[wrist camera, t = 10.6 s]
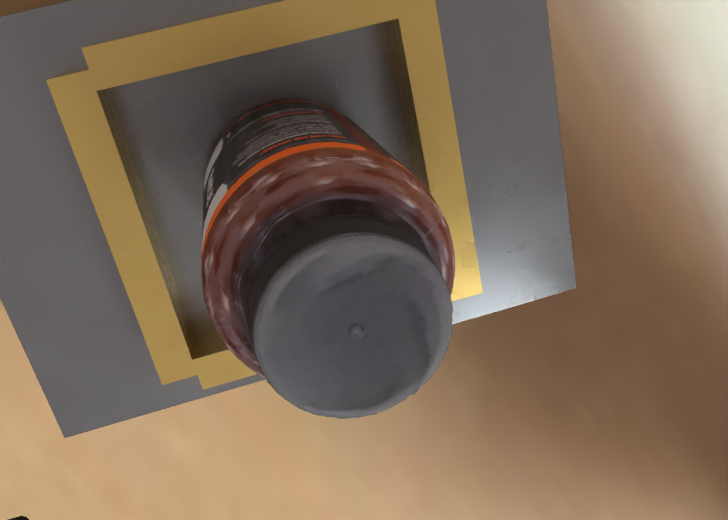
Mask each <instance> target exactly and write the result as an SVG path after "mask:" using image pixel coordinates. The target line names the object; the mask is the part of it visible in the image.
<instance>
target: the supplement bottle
mask: <svg viewBox="0 0 728 520" xmlns="http://www.w3.org/2000/svg"><path fill="white" fill-rule="evenodd" d="M201 247H202V249H201V276H202V288H203V295H204V301H205V304H206V308H207V311H208V314H209V317H210V319H211V321H212V323H213V326H214V328H215V330H216V331H217V333H218V336H219V337H220V338H221V340H222V341H223V343H224V345H225V347H226V348H227V349H228V350H229V351H231V352H232V353H233V354H234V355H235V356H236V357H237V358H238V359H239V360H240V361H241V362H243V363H244V364H245V365H246V366H247V367H248V368H250V369H251V370H252V371H254V372H255V373H257V374H258V375H260V376H262V377H264V378H265V379H267V381H268V383H269V384H270V385H271V386H272V387H273V388H274V390H275V391H276V392H277V393H278V394H279V395H281V396H282V397H283V398H284V399H286V400H287V401H289V402H290V403H292V404H293V405H295V406H296V407H298V408H299V409H302V410H304V411H307V412H310V413H312V414H316V415H321V416H326V417H336V418H341V419H343V418H357V417H363V416H367V415H373V414H377V413H379V412H382V411H384V410H386V409H388V408H391V407H393V406H394V405H396V404H398V403H400V402H401V401H403V400H405V399H406V398H407V397H409V396H410V395H412V394H415V393H416V392H417V391H418V390H419V388H420V387H421V386H422V385H423V384H424V383H425V382H426V381H428V380H429V378H430V377H431V376H432V375H433V373H434V372H435V371H436V369H437V368H438V366H439V364H440V362H441V360H442V359H443V357H444V355H445V353H446V350H447V348H448V344H449V340H450V337H451V333H452V321H453V306H452V300H451V294H452V289H453V282H454V277H455V256H454V255H455V253H454V247H453V241H452V237H451V234H450V230H449V226H448V224H447V221H446V219H445V217H444V215H443V213H442V211H441V210H440V208H439V206H438V204H437V203H436V201H435V199H434V198H433V196H432V195H431V194H430V192H429V191H428V189H427V188H426V187H425V186H424V185H423V183H421V182H420V181H419V180H418V179H417V178H416V177H415V176H414V175H413V174H412V173H411V172H410V171H409V170H408V169H406V168H405V167H404V166H403V165H402V164H401V163H400V162H399V161H397V160H396V159H395V158H394V157H393V156H392V155H391V154H390V153H389V152H387V151H386V150H385V149H384V148H383V147H382V146H381V145H380V144H378V143H377V141H376V140H374V139H373V138H372V137H371V136H370V135H368V134H367V133H366V132H365V131H364V130H363V129H361V128H360V127H359V126H358V125H357V124H356V123H354V122H353V121H352V120H350V119H349V118H347V117H345V116H344V115H342V114H340V113H339V112H337V111H335V110H333V109H331V108H329V107H326V106H324V105H321V104H317V103H315V102H310V101H303V100H294V101H293V100H290V101H280V102H275V103H271V104H267V105H264V106H262V107H259V108H257V109H255V110H253V111H250V112H249V113H247V114H245V115H244V116H242V117H241V118H240V119H238V120H237V121H236V122H235V123H234V124H233V125H232V126H230V127H229V129H228V130H227V131H226V132H225V134H224V135H223V136H222V137H221V139H220V141H219V142H218V143H217V145H216V147H215V149H214V151H213V153H212V155H211V158H210V161H209V164H208V167H207V171H206V175H205V181H204V189H203V226H202V246H201Z"/></svg>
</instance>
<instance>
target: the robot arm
mask: <svg viewBox="0 0 728 520" xmlns="http://www.w3.org/2000/svg"><path fill="white" fill-rule="evenodd" d="M9 520H29V519H28V518H27V517H24V516H19V517H16V518H12V519H9Z"/></svg>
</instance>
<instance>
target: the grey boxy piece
mask: <svg viewBox="0 0 728 520" xmlns="http://www.w3.org/2000/svg"><path fill="white" fill-rule="evenodd" d="M290 100H293V101H294V100H303V101H310V102H315V103H317V104H321V105H324V106H326V107H329V108H331V109H333V110H335V111H337V112H339V113H340V114H342V115H344V116H345V117H347V118H349V119H350V120H352V121H353V122H354V123H356V124H357V125H358V126H359V127H360V128H361V129H363V130H364V131H365V132H366V133H367V134H368V135H370V136H371V137H372V138H373V139H374V140H376V141H377V143H378V144H380V145H381V146H382V147H383V148H384V149H385V150H386V151H387V152H389V153H390V154H391V155H392V156H393V157H394V158H395V159H396V160H397V161H399V162H400V163H401V164H402V165H403V166H404V167H405V168H406V169H408V170H409V171H410V172H411V173H412V174H413V175H414V176H415V177H416V178H417V179H418V180H419V181H420V182H421V183H423V185H424V186H425V187H426V188H427V189H428V191H429V192H430V194H431V195H432V196H433V198H434V199H435V201H436V203H437V204H438V206H439V208H440V210H441V211H442V213H443V215H444V217H445V219H446V221H447V224H448V226H449V230H450V234H451V237H452V241H453V247H454V253H455V255H454V256H455V277H454V282H453V289H452V294H451V300H452V306H453V321H452V324H456V323H459V322H463V321H466V320H470V319H473V318H476V317H480V316H483V315H487V314H490V313H493V312H497V311H500V310H504V309H507V308H511V307H514V306H517V305H521V304H524V303H528V302H531V301H534V300H538V299H541V298H545V297H548V296H551V295H555V294H558V293H562V292H565V291H569V290H572V289H575V288H576V279H575V269H574V260H573V250H572V241H571V231H570V222H569V212H568V203H567V193H566V184H565V174H564V165H563V156H562V146H561V137H560V127H559V118H558V108H557V99H556V89H555V80H554V70H553V61H552V51H551V42H550V32H549V23H548V13H547V4H546V0H72V1H67V2H63V3H58V4H54V5H50V6H45V7H41V8H36V9H32V10H27V11H23V12H19V13H14V14H10V15H5V16H1V17H0V298H1V300H2V303H3V305H4V307H5V309H6V311H7V314H8V316H9V318H10V320H11V322H12V324H13V327H14V329H15V331H16V333H17V335H18V337H19V340H20V342H21V344H22V346H23V348H24V350H25V353H26V355H27V357H28V359H29V361H30V364H31V366H32V368H33V370H34V372H35V374H36V377H37V379H38V381H39V383H40V385H41V387H42V390H43V392H44V394H45V396H46V398H47V400H48V403H49V405H50V407H51V409H52V411H53V414H54V416H55V418H56V420H57V422H58V424H59V427H60V429H61V431H62V433H63V435H64V437H65V438H67V437H70V436H73V435H77V434H80V433H84V432H87V431H90V430H94V429H97V428H101V427H104V426H108V425H111V424H114V423H118V422H121V421H125V420H128V419H131V418H135V417H138V416H142V415H145V414H148V413H152V412H155V411H159V410H162V409H166V408H169V407H172V406H176V405H179V404H183V403H186V402H189V401H193V400H196V399H200V398H203V397H207V396H210V395H213V394H217V393H220V392H224V391H227V390H230V389H234V388H237V387H241V386H244V385H248V384H251V383H254V382H258V381H261V380H265V378H264V377H262V376H260V375H258V374H257V373H255V372H254V371H252V370H251V369H250V368H248V367H247V366H246V365H245V364H244V363H243V362H241V361H240V360H239V359H238V358H237V357H236V356H235V355H234V354H233V353H232V352H231V351H229V350H228V349H227V348H226V347H225V345H224V343H223V341H222V340H221V338H220V337H219V336H218V333H217V331H216V330H215V328H214V326H213V323H212V321H211V319H210V317H209V314H208V311H207V308H206V304H205V301H204V295H203V288H202V276H201V249H202V247H201V246H202V226H203V189H204V181H205V175H206V171H207V167H208V164H209V161H210V158H211V155H212V153H213V151H214V149H215V147H216V145H217V143H218V142H219V141H220V139H221V137H222V136H223V135H224V134H225V132H226V131H227V130H228V129H229V127H230V126H232V125H233V124H234V123H235V122H236V121H237V120H238V119H240V118H241V117H242V116H244V115H245V114H247V113H249V112H250V111H253V110H255V109H257V108H259V107H262V106H264V105H267V104H271V103H275V102H280V101H290Z"/></svg>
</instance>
